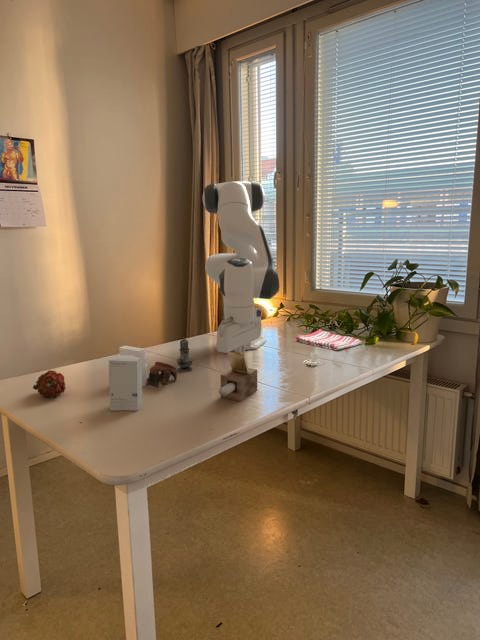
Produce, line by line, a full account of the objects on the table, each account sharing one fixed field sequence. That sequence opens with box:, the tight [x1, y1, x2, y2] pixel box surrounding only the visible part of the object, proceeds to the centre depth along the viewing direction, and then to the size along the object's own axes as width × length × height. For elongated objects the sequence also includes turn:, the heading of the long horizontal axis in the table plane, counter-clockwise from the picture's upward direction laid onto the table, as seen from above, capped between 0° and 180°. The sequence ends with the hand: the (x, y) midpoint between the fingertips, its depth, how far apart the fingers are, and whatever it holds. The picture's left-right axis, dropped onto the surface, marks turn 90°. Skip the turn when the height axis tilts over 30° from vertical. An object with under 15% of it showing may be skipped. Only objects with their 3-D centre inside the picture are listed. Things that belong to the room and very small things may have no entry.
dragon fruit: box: [32, 370, 67, 399], centre depth 144 cm, size 8×8×12 cm
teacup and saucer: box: [303, 351, 319, 367], centre depth 175 cm, size 9×8×4 cm
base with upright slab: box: [118, 345, 149, 388], centre depth 153 cm, size 9×9×12 cm
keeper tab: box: [227, 351, 249, 374], centre depth 141 cm, size 7×6×1 cm
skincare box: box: [108, 354, 143, 412], centre depth 134 cm, size 8×6×15 cm
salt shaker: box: [176, 336, 194, 373], centre depth 168 cm, size 6×6×12 cm
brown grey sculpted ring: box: [146, 361, 178, 389], centre depth 154 cm, size 12×10×8 cm
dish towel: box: [295, 328, 362, 351], centre depth 204 cm, size 17×23×4 cm
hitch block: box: [220, 367, 258, 402], centre depth 144 cm, size 10×7×7 cm
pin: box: [218, 381, 237, 397], centre depth 142 cm, size 16×4×4 cm, turn 149°
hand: (239, 359), depth 141 cm, fingers closed, pressing on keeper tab
